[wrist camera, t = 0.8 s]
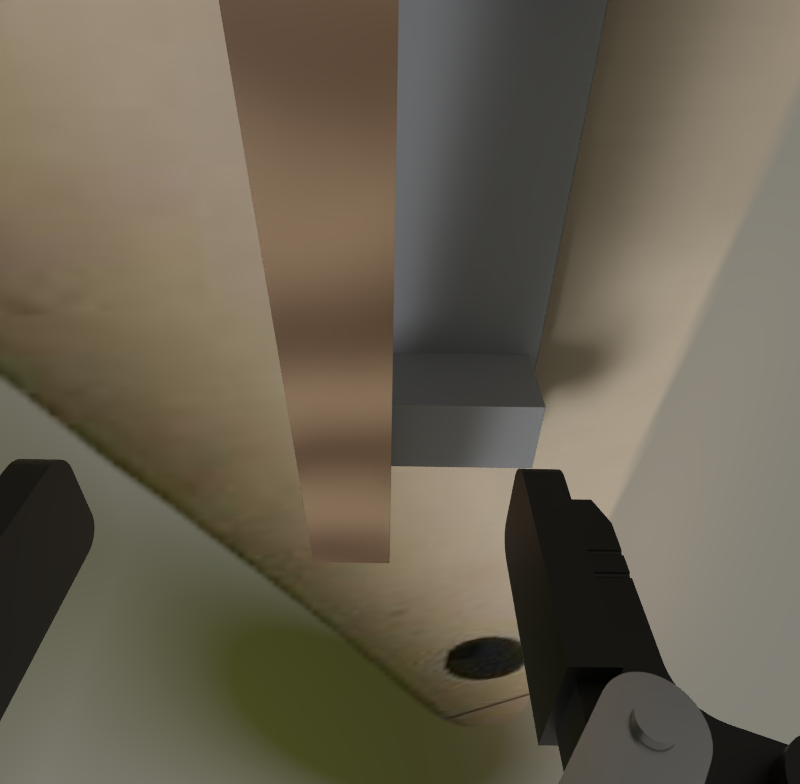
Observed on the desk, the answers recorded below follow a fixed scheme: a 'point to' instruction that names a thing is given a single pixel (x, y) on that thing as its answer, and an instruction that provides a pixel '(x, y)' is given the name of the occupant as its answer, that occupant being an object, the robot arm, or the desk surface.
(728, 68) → the desk surface
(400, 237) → the notch rack
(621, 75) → the desk surface
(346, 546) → the wooden plank
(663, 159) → the desk surface
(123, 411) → the desk surface
